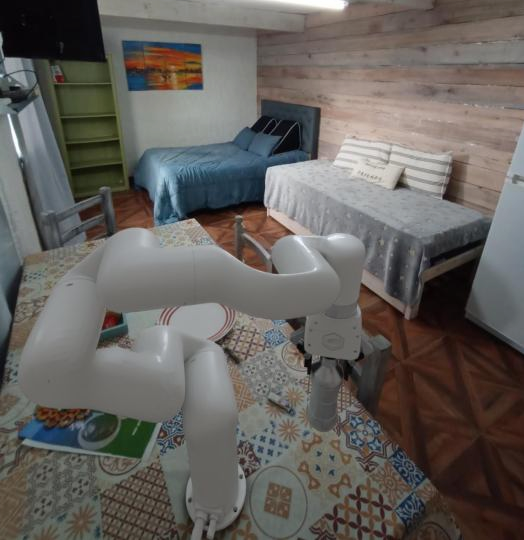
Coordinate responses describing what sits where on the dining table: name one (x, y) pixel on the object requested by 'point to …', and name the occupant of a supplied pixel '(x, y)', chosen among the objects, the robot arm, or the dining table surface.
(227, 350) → the walnut chopstick
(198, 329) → the dinner plate
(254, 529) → the dining table surface
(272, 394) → the granola bar
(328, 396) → the plastic bottle
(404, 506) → the dining table surface
